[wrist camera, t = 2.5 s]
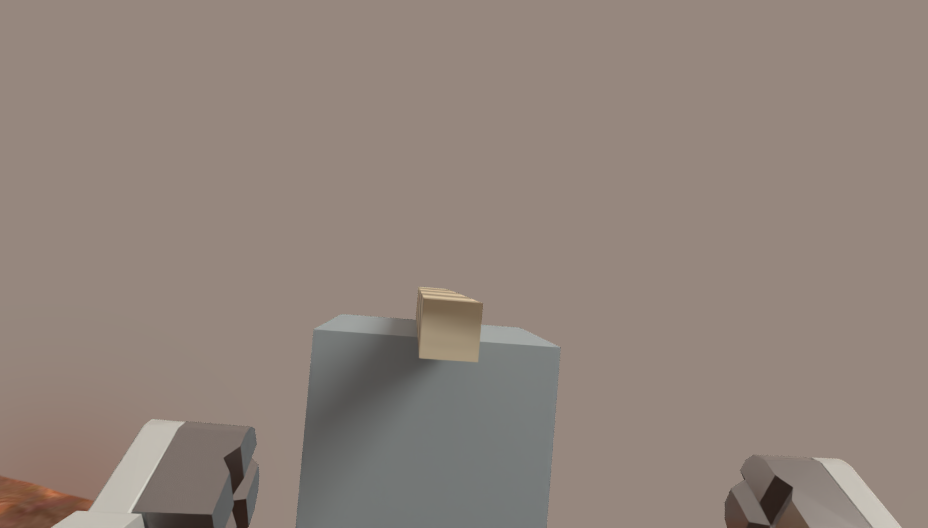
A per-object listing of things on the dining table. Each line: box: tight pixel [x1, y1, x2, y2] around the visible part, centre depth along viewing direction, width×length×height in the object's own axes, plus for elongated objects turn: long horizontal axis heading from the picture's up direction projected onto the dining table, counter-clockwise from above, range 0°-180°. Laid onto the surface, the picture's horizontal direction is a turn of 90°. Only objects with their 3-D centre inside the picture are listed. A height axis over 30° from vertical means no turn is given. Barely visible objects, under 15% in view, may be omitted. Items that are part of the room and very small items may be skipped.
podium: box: [296, 314, 561, 528], centre depth 37 cm, size 12×14×26 cm
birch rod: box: [416, 287, 483, 362], centre depth 35 cm, size 24×2×2 cm, turn 5°
